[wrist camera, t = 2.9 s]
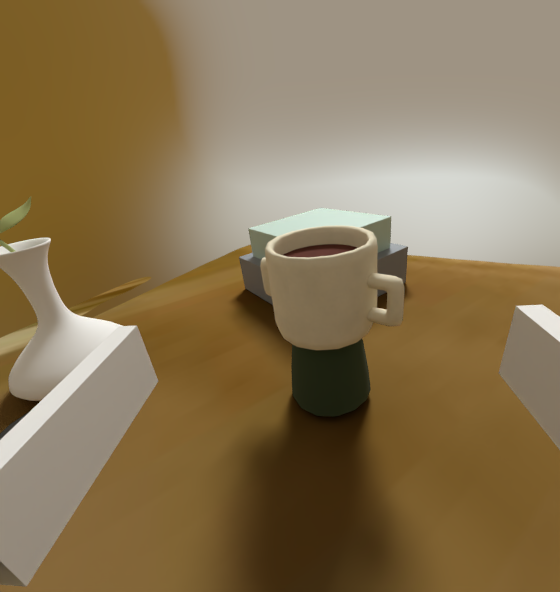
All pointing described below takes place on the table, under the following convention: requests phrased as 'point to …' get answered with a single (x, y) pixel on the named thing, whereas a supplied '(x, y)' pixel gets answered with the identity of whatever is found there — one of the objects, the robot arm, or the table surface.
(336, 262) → the character mug
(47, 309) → the flower in vase
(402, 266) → the tower base
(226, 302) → the table surface
